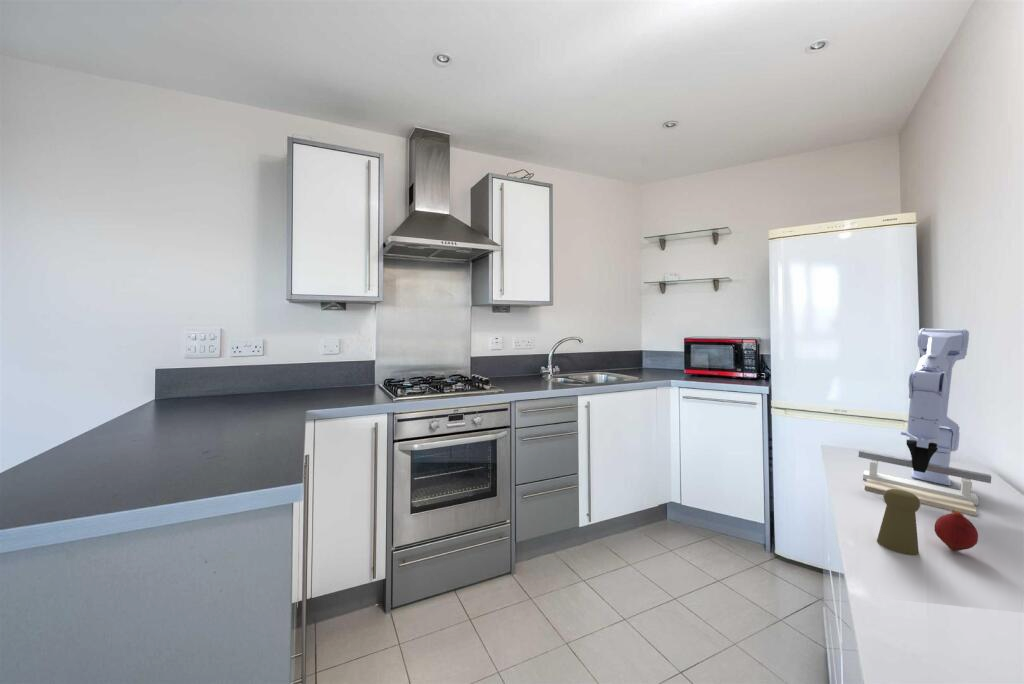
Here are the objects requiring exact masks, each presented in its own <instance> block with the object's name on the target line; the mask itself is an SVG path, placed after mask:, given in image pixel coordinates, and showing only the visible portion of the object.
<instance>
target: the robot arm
mask: <svg viewBox="0 0 1024 684" xmlns="http://www.w3.org/2000/svg"><path fill="white" fill-rule="evenodd" d="M969 336H970V332H969V330H967V329H966V328H965V329H964V328H963V329H956V328H954V329H952V328H950V329H948V328H925V327H921V328H920V329H919V331H918V333H917V348H918V350H919V354H920V356H921V357H920V358H919V359H918V362H917V364H916V366H915V370H914V372H912V371H910V374H909V375H908V392H909V393H908V398H909V399H910V400H909V408H908V419H907V428H906V431H904V430H901V431H900V435H902V436H906V437H907V438H909V439H906V443H905V444H906V446H907V448H908V449H909V452H910V456H911V460H912V466H913V468H911V472H910V478H912V479H916V480H922V481H925V482H931V483H935V484H941V485H946V486H951V481H950V477H949V475H946V474H941V473H936V472H931V471H926V470H927V467H928V464H929V463H931V464H936V465H941V466H947V467H950V462H951V461H950V460H951V455H952V454H951V453H952V452H953V453H955V452H956V451H958V449H959V444H960V426H959V424H958V423H957V422H955V421H954V420H953V419H951V418H950V417H948V409H949V399H950V391H951V384H952V383H951V381H952V374H953V367H954V366H955V363H956V362H957V361H960V360H964V359H965V358H966V356H967V354H968V349H969V340H970V339H969V338H970V337H969ZM940 426H941V427H940ZM945 427H946V428H945Z"/></svg>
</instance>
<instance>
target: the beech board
mask: <svg viewBox="0 0 1024 684" xmlns="http://www.w3.org/2000/svg"><path fill="white" fill-rule="evenodd" d="M889 489H898V490H903V491H907V492H910V493H912V494H914V495H916V496H917V497H918V499H919V500H920V504H923V503H924V505H927V506H928V505H929V506H933V507H937V508H939V509H940V508H941V509H946V510H948V511H949V510H950V511H952V510H954V509H955V510H958V511H959V512H960V513H961V514H966V515H971V516H974V517H977V513H978V512H977V509H976V506H975V505H974V504H973V502H970V501H965V500H961V499H956V498H952V497H947V496H943V495H938V494H934V493H929V492H925V491H920V490H916V489H912V488H907V487H903V486H898V485H894V484H889V483H885V482H880V481H876V480H871V479H867V480H865V484H864V490H866V491H870V492H874V493H878V494H882V495H884V493H885V492H886V491H887V490H889Z"/></svg>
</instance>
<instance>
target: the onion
mask: <svg viewBox="0 0 1024 684" xmlns="http://www.w3.org/2000/svg"><path fill="white" fill-rule="evenodd" d="M934 532H935V535H936V536H937V537H938V539H939V540H941V542H943V544H945V545H946V547H947V548H949V550H951V551H954V552H958V551H959V552H960V551H964V550H969V549H972V548H974V546H976V545H977V544H978V540H979V532H978V530H977V528H976V526H975V525H974V524H973V522H972V521H971V520H970V519H968V518H967V517H965V515H963V513H961V512H959V511H958V510H955V509H954V510H951V513H947V514H946V513H945V514H943V515H941V516H940V517H938V518H937V519H936V521H935V523H934Z"/></svg>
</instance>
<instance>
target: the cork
mask: <svg viewBox="0 0 1024 684" xmlns="http://www.w3.org/2000/svg"><path fill="white" fill-rule="evenodd" d="M883 501H884V503H885V504H886V507H885V510H884V514H883V517H882V520H881V525H880V528H879V532H878V535H877V539H876V542H877V543H878V545H880V546H882V547H883V548H885V549H887V550H889V551H892V552H895V553H898V554H902V555H907V556H917V555H919V553H920V551H919V541H918V540H919V539H918V528H917V516H916V512H918V510H919V509H920V507H921V503H920V500H919V499H918V497H917V496H916V495H914V494H912V493H910V492H907V491H903V490H898V489H889V490H887V491H886V492H885V493H884V494H883Z"/></svg>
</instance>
